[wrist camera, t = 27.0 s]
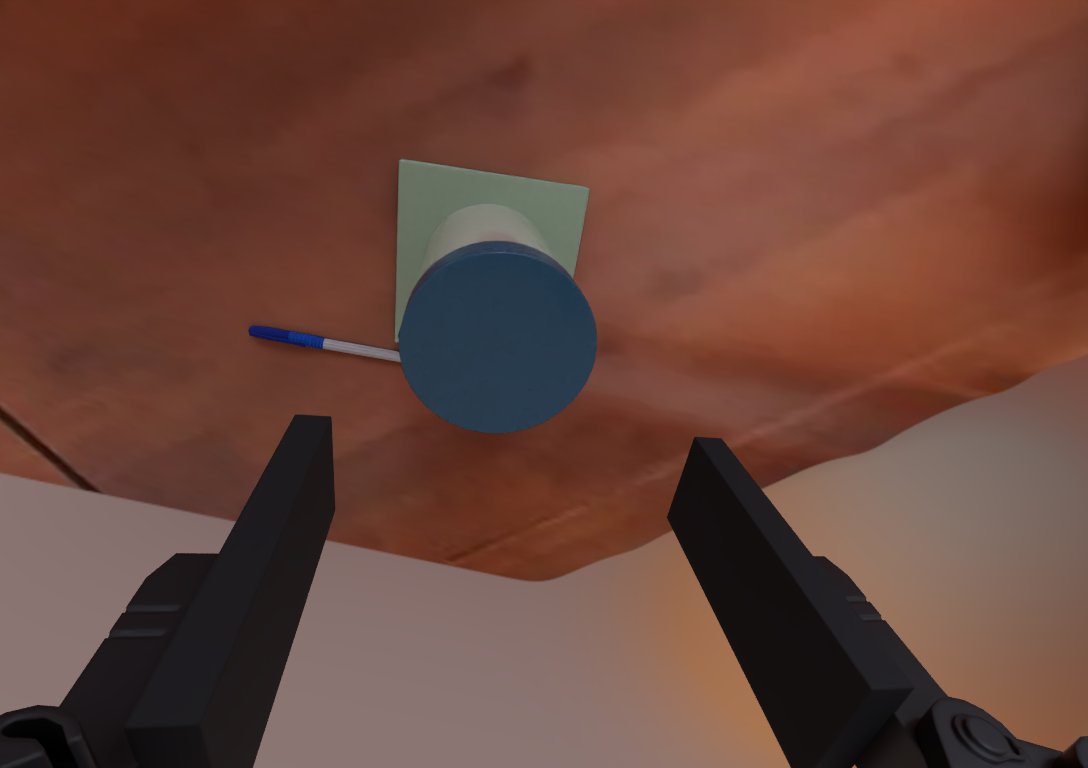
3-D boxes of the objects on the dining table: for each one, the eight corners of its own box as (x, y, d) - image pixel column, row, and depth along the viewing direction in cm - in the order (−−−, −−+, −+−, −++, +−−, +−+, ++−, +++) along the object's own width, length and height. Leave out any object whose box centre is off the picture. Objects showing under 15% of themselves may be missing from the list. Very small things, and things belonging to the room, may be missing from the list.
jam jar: (420, 323, 30) (400, 419, 21) (426, 194, 27) (406, 240, 17) (541, 334, 31) (573, 429, 22) (561, 213, 28) (608, 264, 19)
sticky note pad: (396, 336, 31) (394, 342, 30) (400, 158, 26) (398, 160, 26) (556, 350, 33) (559, 356, 32) (586, 186, 28) (590, 189, 28)
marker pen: (251, 336, 30) (245, 343, 29) (251, 322, 30) (244, 329, 29) (432, 364, 32) (431, 371, 32) (434, 351, 32) (433, 358, 31)
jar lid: (398, 405, 22) (394, 428, 20) (404, 227, 18) (398, 238, 17) (570, 416, 23) (578, 438, 22) (604, 252, 20) (616, 265, 18)
